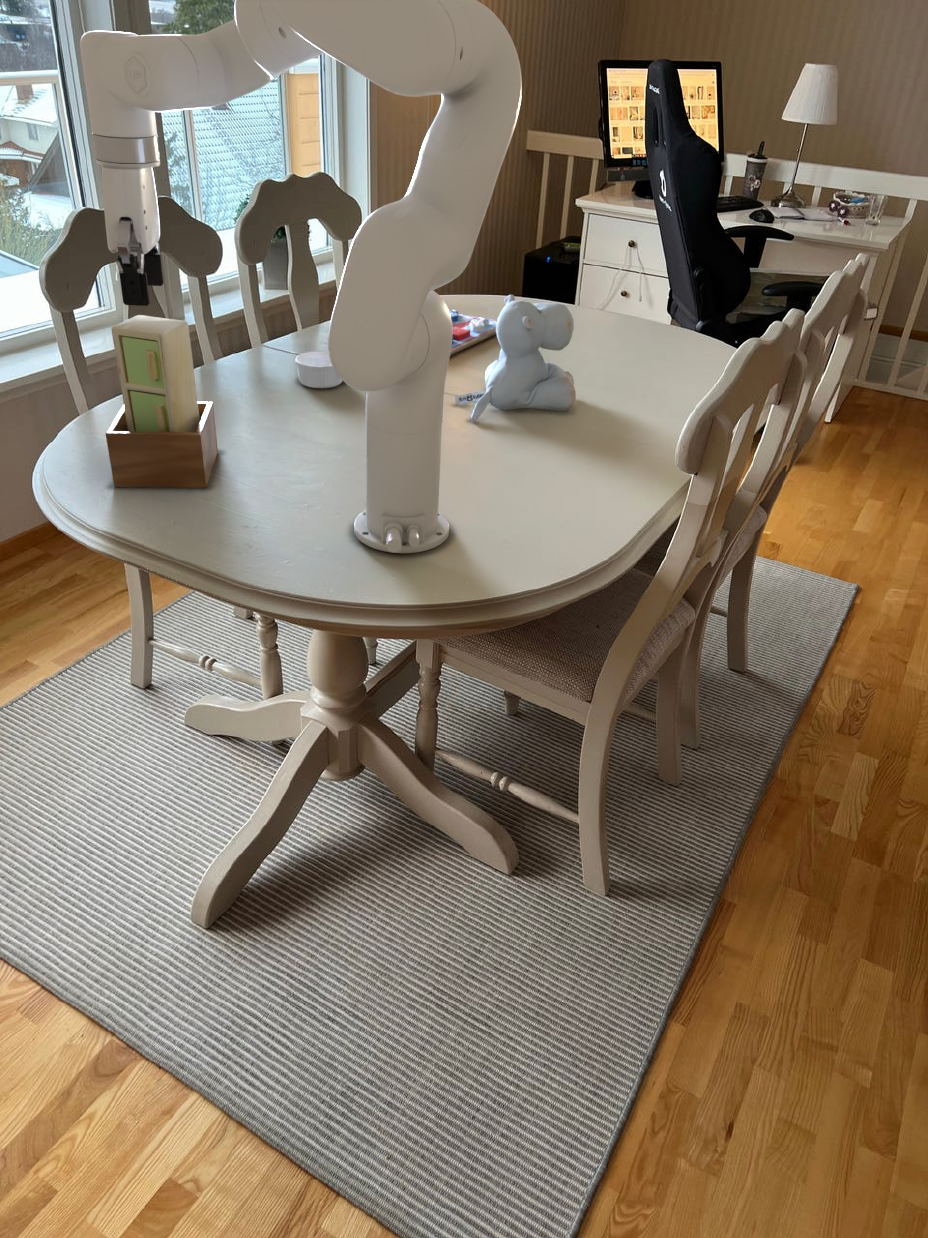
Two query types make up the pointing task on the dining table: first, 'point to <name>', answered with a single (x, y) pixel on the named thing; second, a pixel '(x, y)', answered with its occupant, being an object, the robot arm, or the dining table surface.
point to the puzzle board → (469, 330)
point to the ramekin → (316, 370)
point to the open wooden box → (163, 454)
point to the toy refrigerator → (156, 374)
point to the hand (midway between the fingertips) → (144, 294)
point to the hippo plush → (527, 360)
